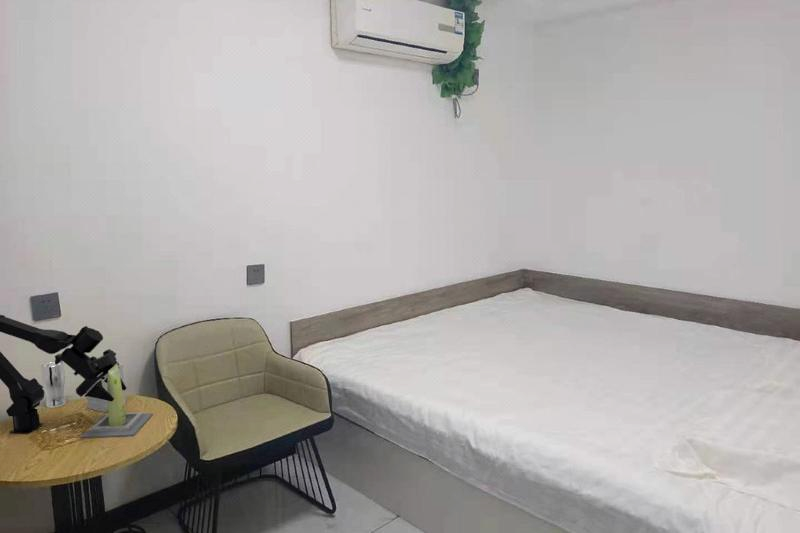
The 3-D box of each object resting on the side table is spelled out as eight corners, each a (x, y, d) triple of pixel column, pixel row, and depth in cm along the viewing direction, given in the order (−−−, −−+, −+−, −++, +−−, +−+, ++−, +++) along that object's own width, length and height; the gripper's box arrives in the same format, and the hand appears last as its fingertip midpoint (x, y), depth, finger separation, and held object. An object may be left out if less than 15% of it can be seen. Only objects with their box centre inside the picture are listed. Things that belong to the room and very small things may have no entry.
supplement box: (127, 403, 196) (123, 363, 193) (104, 412, 188) (100, 370, 185) (109, 399, 199) (105, 359, 197) (86, 408, 191) (82, 367, 189)
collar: (91, 433, 171) (90, 428, 171) (108, 417, 182) (107, 413, 182) (128, 431, 172) (128, 427, 172) (143, 416, 183) (142, 412, 183)
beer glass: (40, 407, 192) (35, 366, 190) (55, 400, 199) (51, 360, 196) (57, 409, 191) (53, 367, 188) (72, 401, 198) (68, 361, 195)
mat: (80, 438, 169) (80, 436, 169) (104, 416, 185) (104, 414, 184) (133, 436, 170) (133, 434, 170) (152, 414, 186) (152, 413, 186)
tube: (129, 424, 177) (124, 366, 174) (113, 429, 173) (108, 370, 170) (122, 419, 181) (117, 362, 178) (106, 424, 177) (100, 366, 174)
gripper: (82, 354, 164) (123, 388, 166) (110, 336, 182) (147, 367, 184) (58, 379, 164) (99, 413, 167) (88, 360, 183) (125, 390, 185)
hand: (119, 394), depth 176 cm, fingers open, 9 cm apart
